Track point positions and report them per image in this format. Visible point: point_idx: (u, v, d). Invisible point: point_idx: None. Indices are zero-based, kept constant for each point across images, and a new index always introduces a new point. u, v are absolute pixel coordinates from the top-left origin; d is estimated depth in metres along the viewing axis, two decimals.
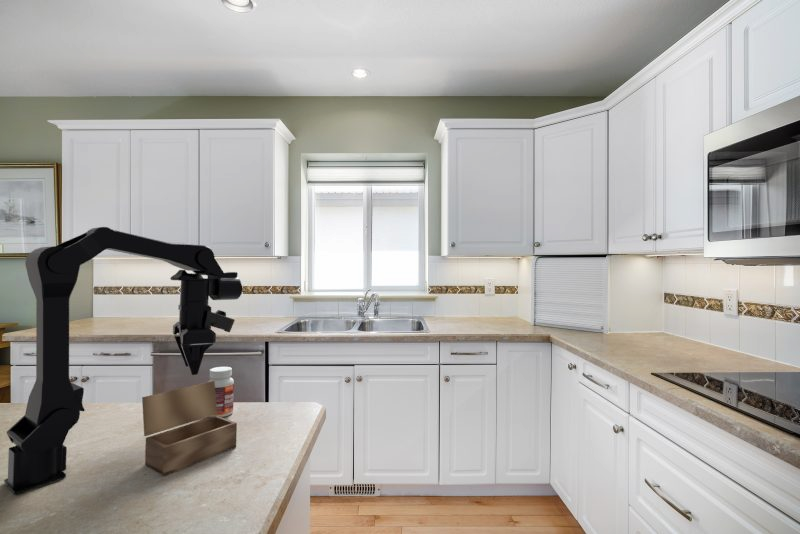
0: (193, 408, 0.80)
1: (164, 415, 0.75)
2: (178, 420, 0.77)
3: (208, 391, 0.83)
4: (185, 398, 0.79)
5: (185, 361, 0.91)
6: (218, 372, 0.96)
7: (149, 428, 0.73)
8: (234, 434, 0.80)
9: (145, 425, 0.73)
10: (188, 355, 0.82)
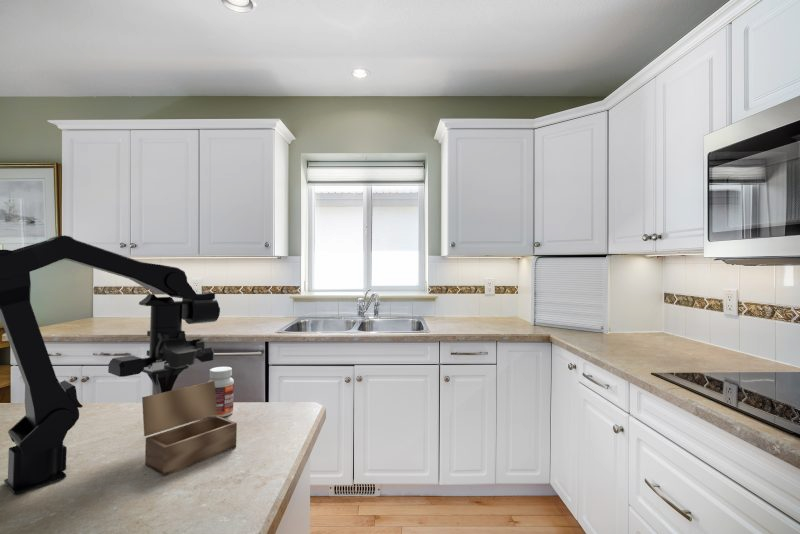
0: (193, 408, 0.80)
1: (164, 415, 0.75)
2: (178, 420, 0.77)
3: (208, 391, 0.83)
4: (185, 398, 0.79)
5: None
6: (218, 372, 0.96)
7: (149, 428, 0.73)
8: (234, 434, 0.80)
9: (145, 425, 0.73)
10: (152, 379, 0.82)
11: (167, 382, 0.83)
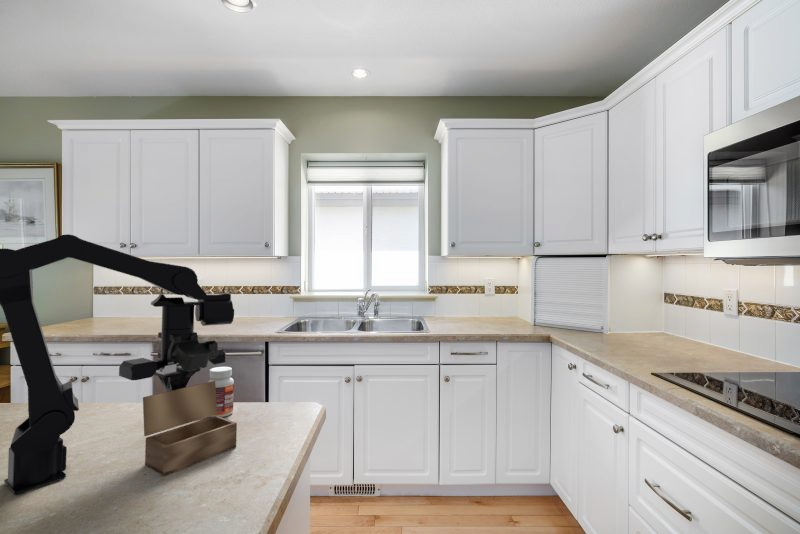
0: (193, 408, 0.80)
1: (164, 415, 0.75)
2: (178, 420, 0.77)
3: (209, 391, 0.83)
4: (186, 398, 0.79)
5: None
6: (218, 372, 0.96)
7: (149, 428, 0.73)
8: (234, 434, 0.80)
9: (145, 425, 0.73)
10: (163, 382, 0.79)
11: (179, 385, 0.80)
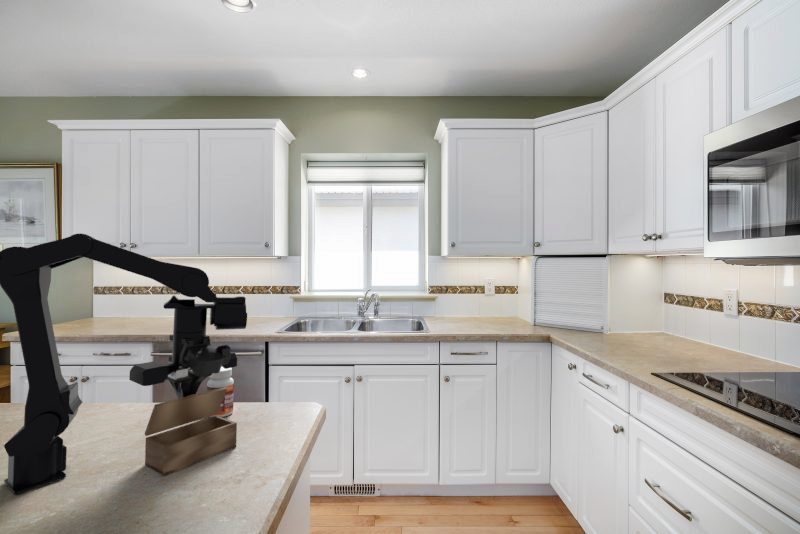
0: (197, 411, 0.79)
1: (169, 419, 0.74)
2: (180, 421, 0.77)
3: (217, 397, 0.81)
4: (194, 404, 0.77)
5: None
6: None
7: (151, 430, 0.73)
8: (234, 434, 0.80)
9: (148, 428, 0.72)
10: (174, 386, 0.77)
11: (190, 390, 0.78)
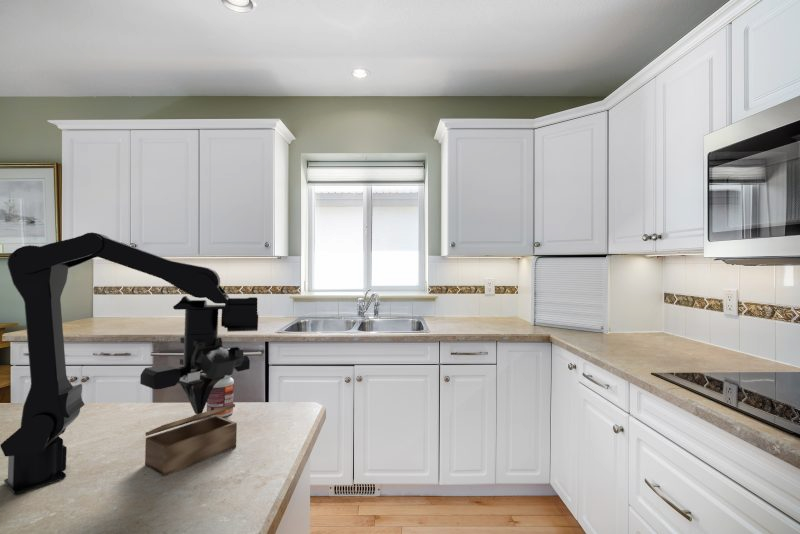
0: (200, 418, 0.79)
1: (172, 427, 0.74)
2: (181, 424, 0.77)
3: (223, 410, 0.80)
4: (199, 418, 0.76)
5: None
6: None
7: (152, 433, 0.72)
8: (234, 434, 0.80)
9: (150, 433, 0.71)
10: (185, 390, 0.75)
11: (202, 393, 0.75)
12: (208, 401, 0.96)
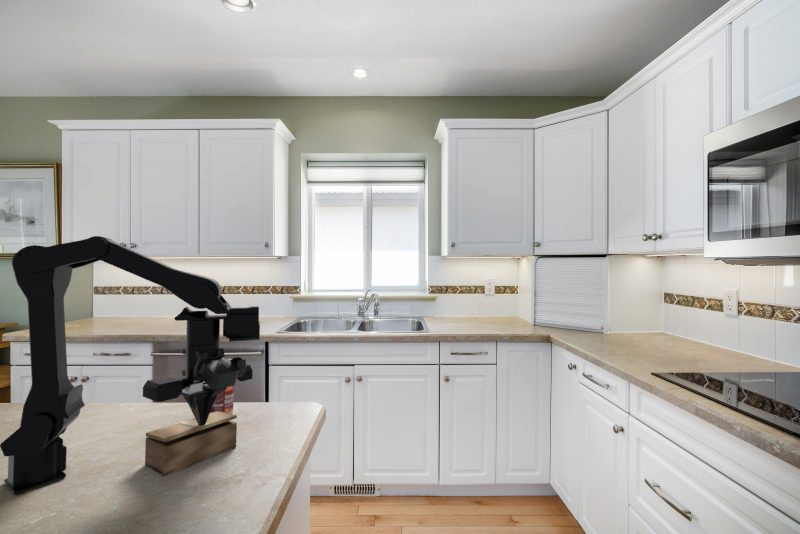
0: None
1: None
2: None
3: None
4: None
5: None
6: None
7: None
8: (234, 434, 0.80)
9: (151, 437, 0.71)
10: (188, 402, 0.74)
11: (205, 405, 0.75)
12: None
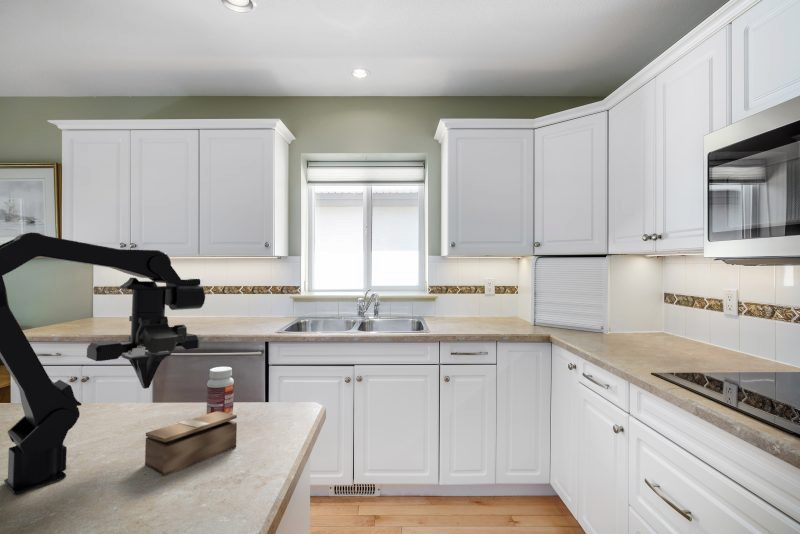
0: None
1: None
2: None
3: None
4: None
5: None
6: (218, 372, 0.96)
7: None
8: (234, 434, 0.80)
9: (151, 437, 0.71)
10: (133, 366, 0.80)
11: (149, 369, 0.80)
12: (208, 401, 0.96)
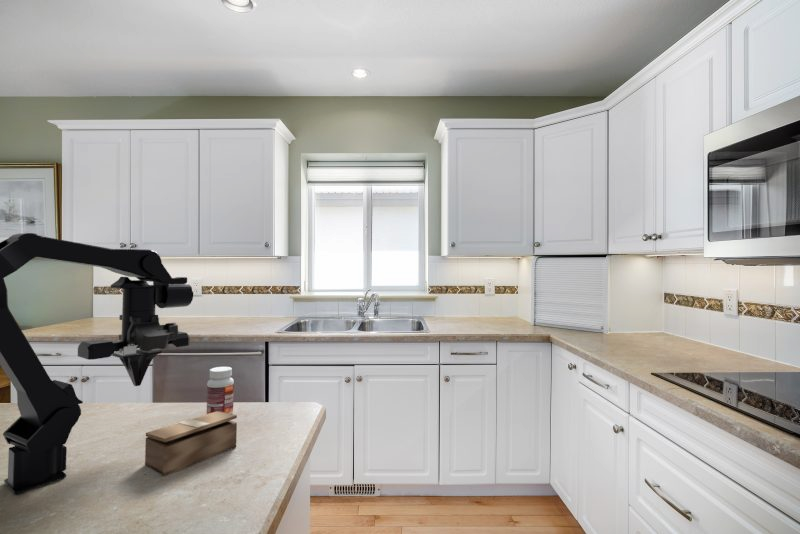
0: None
1: None
2: None
3: None
4: None
5: None
6: (218, 372, 0.96)
7: None
8: (234, 434, 0.80)
9: (151, 437, 0.71)
10: (124, 364, 0.80)
11: (140, 367, 0.81)
12: (208, 401, 0.96)
